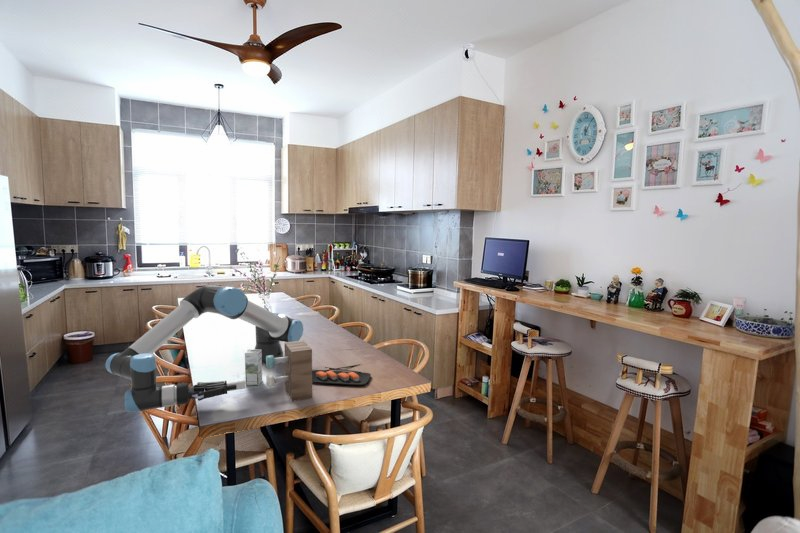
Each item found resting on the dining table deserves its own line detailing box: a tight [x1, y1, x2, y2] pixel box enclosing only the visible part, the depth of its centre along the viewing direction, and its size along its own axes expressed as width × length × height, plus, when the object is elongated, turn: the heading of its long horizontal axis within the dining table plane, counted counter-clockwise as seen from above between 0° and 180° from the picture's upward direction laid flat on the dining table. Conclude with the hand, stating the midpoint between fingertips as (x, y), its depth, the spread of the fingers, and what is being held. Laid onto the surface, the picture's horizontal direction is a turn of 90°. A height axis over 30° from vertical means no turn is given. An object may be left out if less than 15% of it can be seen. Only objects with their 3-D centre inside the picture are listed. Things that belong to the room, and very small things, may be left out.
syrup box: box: [244, 348, 263, 386], centre depth 180 cm, size 6×6×14 cm
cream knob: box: [266, 374, 289, 388], centre depth 167 cm, size 5×10×5 cm, turn 116°
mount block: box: [283, 340, 313, 402], centre depth 169 cm, size 14×8×20 cm, turn 26°
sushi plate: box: [312, 363, 372, 386], centre depth 194 cm, size 29×30×4 cm
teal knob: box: [265, 355, 289, 368], centre depth 166 cm, size 5×10×5 cm, turn 116°
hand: (245, 384), depth 161 cm, fingers closed
